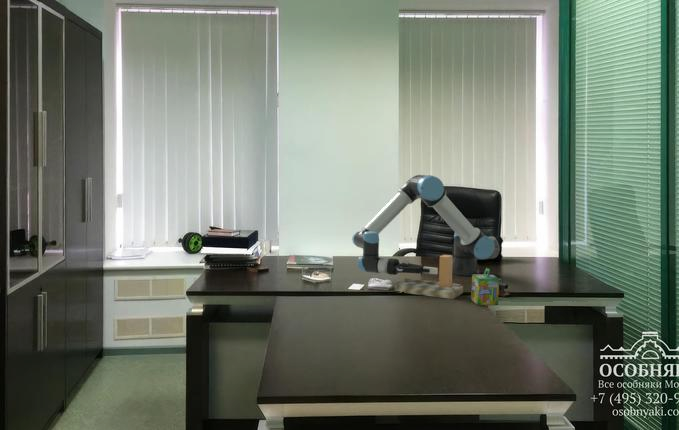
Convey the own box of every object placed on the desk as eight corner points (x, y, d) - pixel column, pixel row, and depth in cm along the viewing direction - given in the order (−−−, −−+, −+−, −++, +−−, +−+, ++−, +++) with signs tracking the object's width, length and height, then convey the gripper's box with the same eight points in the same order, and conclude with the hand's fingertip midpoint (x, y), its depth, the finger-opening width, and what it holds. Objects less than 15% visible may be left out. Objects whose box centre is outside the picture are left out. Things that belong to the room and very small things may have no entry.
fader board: (394, 291, 266) (394, 282, 266) (405, 286, 278) (405, 277, 277) (453, 299, 253) (453, 289, 252) (462, 293, 264) (462, 283, 264)
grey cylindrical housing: (449, 260, 347) (449, 236, 346) (487, 257, 359) (488, 233, 358) (464, 265, 334) (465, 239, 332) (503, 261, 346) (504, 236, 344)
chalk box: (470, 300, 250) (471, 266, 249) (491, 300, 251) (492, 266, 250) (477, 305, 241) (478, 270, 240) (498, 305, 242) (500, 270, 240)
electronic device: (504, 298, 255) (505, 281, 254) (485, 294, 262) (485, 277, 261) (509, 296, 258) (510, 279, 257) (491, 292, 265) (491, 276, 264)
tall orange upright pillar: (439, 287, 259) (439, 256, 258) (443, 284, 264) (444, 254, 263) (447, 288, 257) (448, 257, 256) (451, 285, 263) (452, 255, 261)
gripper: (394, 271, 280) (441, 276, 268) (383, 276, 268) (431, 282, 257) (394, 256, 279) (442, 260, 267) (383, 260, 268) (432, 265, 256)
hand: (437, 271), depth 262 cm, fingers closed
